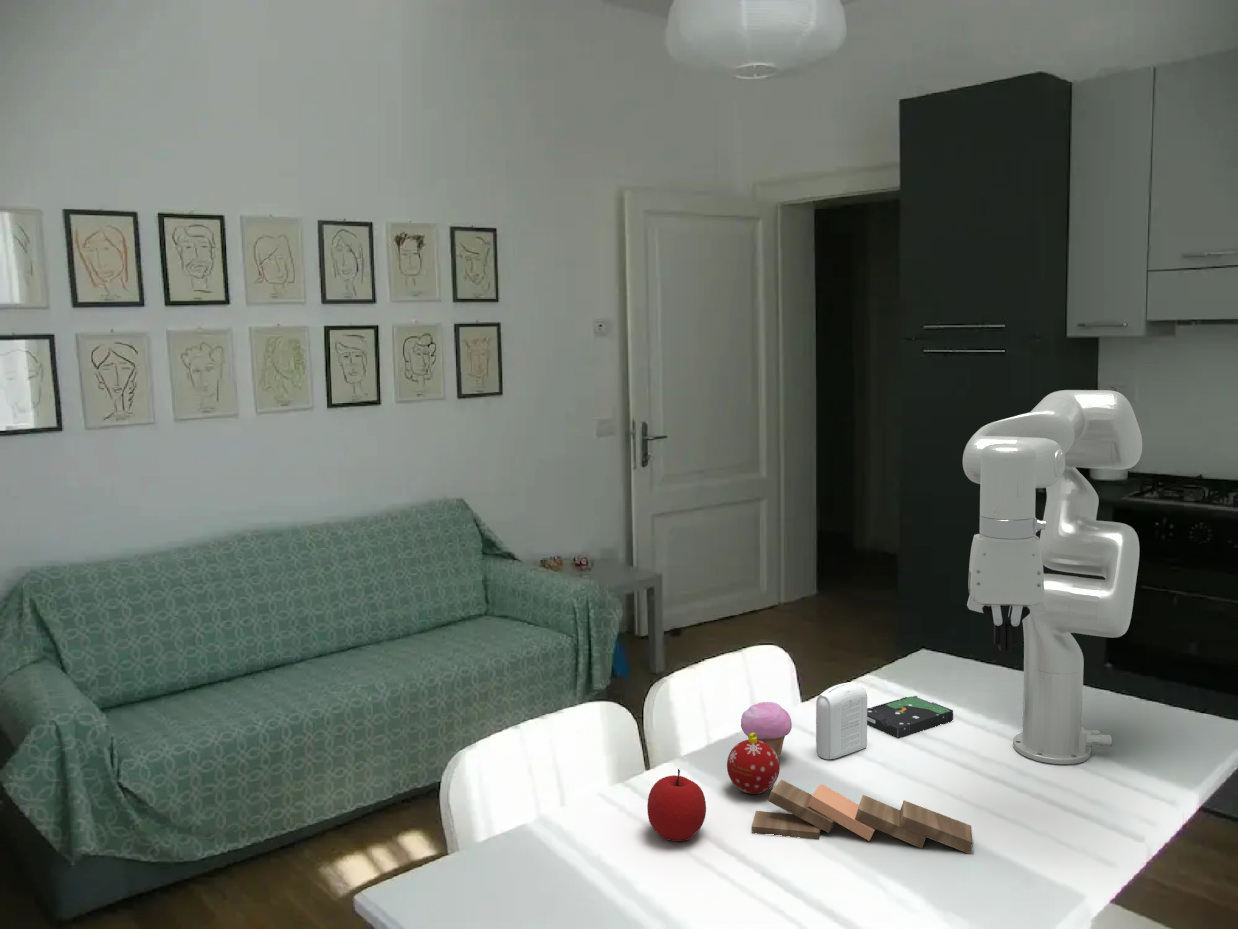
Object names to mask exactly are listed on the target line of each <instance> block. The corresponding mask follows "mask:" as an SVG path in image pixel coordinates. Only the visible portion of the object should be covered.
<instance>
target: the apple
mask: <svg viewBox="0 0 1238 929" xmlns="http://www.w3.org/2000/svg"><path fill="white" fill-rule="evenodd" d="M680 774H681V769H678V768H677V775H675V774H674V775H668V776H664V777H662V778H660V779H658V780H657V781H656V782H655V783H654V784H653V785H652V787H651V789H650V790H649V794H648V798H647V806H646V807H647V817H648V822H649V825H651V828H652V829H653V830H654V831H655V832H656V833H657V835H658V836H659V837H661V838H662V839H664V840H668V841H671V840H672V842H673V841H674V842H683V841H688V840H689V839H691V838H693V836H695V835H696V834H697V832H698V831H700V829H701V827H702V826H703V824H704V822H705V819H706V813H707V804H706V803H707V802H706V797H705V795H704V792H703V789H702V788H701V786H699V784H697V783H696V782H694V781H693V780H692V779H689V778H687V777H685V776H682V775H680Z"/></svg>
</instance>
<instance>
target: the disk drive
mask: <svg viewBox="0 0 1238 929" xmlns="http://www.w3.org/2000/svg"><path fill="white" fill-rule="evenodd" d="M952 720H953V721H954V709H951V708H949V707H947V706H946V707H945V706H943V705H940V704H938V703H937V702H935V701H932V702H931V701H928V700H925V699H923V698H920V697H918V696H917V695H913V696H912V695H911V696H905V697H902V698H899V699H896V700H892V701H889V702H885V703H882V704H878V705H873V706H872V707H867V726H869V727H871V728H872V729H874V730H878V731H880V732H882V733H884V734H887V735H888V736H891V737H893V738H896V739H898V740H899V739H901V738H906V737H909V736H911V735H915V734H917V733H921V732H923V730H924V731H926V730H930V729H933V728H936V727H939V726H938V725H940V724H943V725H946V724H948V722H949V723H952V722H953V721H952ZM951 721H952V722H951ZM935 726H936V727H935ZM940 726H941V725H940ZM920 731H921V732H920Z"/></svg>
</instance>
